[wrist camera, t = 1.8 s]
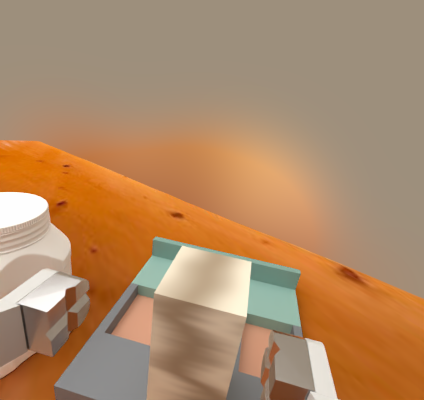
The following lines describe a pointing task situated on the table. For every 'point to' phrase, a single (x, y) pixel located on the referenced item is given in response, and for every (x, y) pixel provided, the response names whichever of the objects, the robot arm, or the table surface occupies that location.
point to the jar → (28, 247)
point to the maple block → (197, 326)
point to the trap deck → (142, 324)
